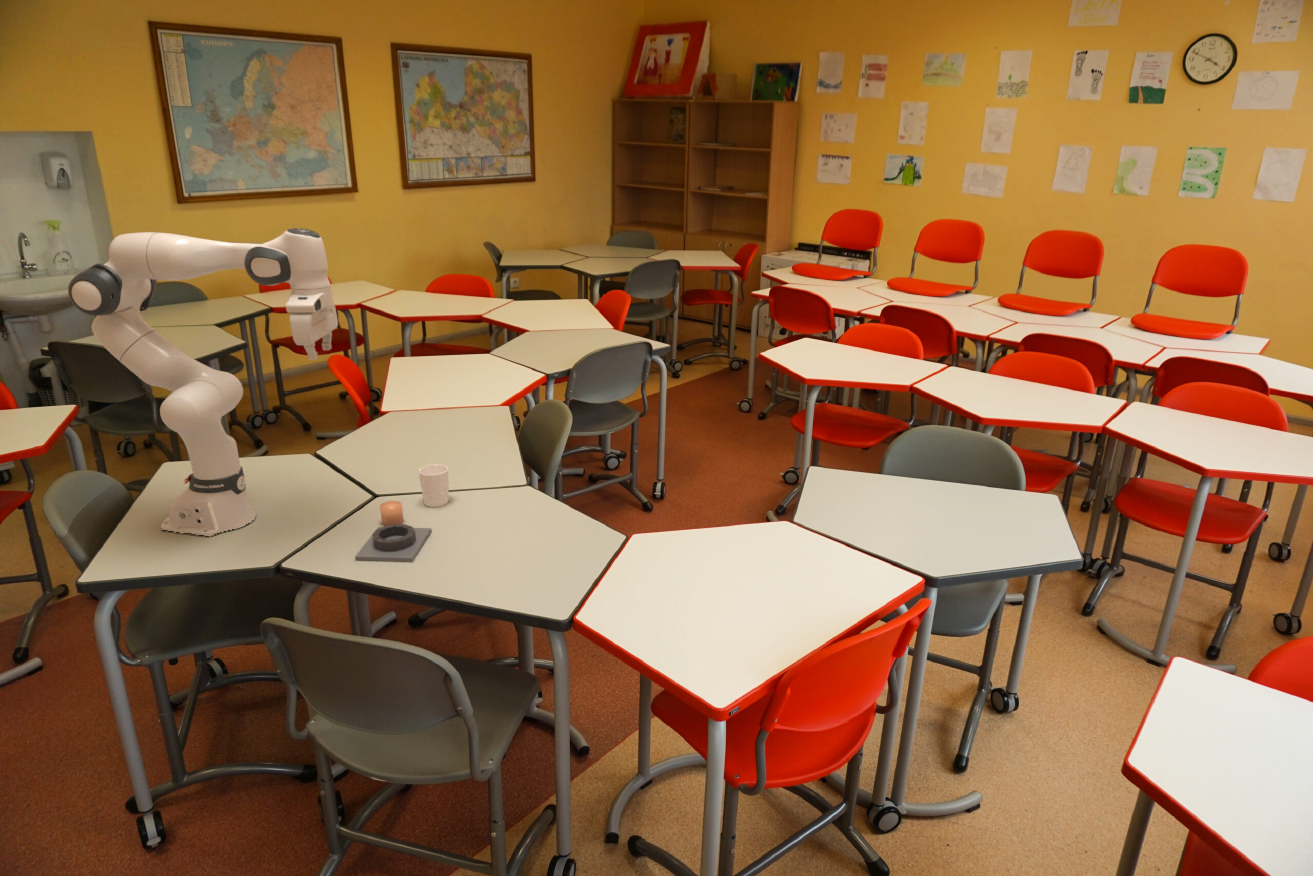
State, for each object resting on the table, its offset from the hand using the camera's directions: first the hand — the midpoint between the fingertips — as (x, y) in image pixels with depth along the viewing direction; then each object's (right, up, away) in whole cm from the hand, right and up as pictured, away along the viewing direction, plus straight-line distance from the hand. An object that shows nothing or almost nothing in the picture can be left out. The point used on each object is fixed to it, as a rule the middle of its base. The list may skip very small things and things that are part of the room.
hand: (320, 354), depth 199 cm
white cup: (+20, -39, +30) cm, 53 cm away
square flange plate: (+17, -48, +5) cm, 51 cm away
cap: (+12, -43, +18) cm, 48 cm away
